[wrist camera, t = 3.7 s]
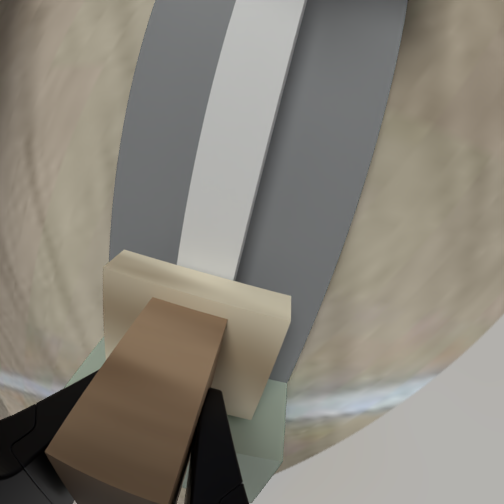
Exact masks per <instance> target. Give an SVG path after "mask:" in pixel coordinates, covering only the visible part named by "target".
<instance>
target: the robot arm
mask: <svg viewBox="0 0 504 504" xmlns="http://www.w3.org/2000/svg"><path fill="white" fill-rule="evenodd" d="M98 371H99V370H97V371H95V372H93V373H91V374H90V375H88V376H86V377H84V378H82V379H80V380H79V381H77V382H75V383H73V384H71V385H69V386H68V387H66V388H64V389H62V390H60V391H58V392H57V393H55V394H53V395H51V396H49V397H47V398H45V399H43V400H42V401H40V402H38V403H37V404H34V405H32V406H30V407H28V408H26V409H24V410H22V411H20V412H18V413H16V414H14V415H12V416H9V417H7V418H4V419H2V420H0V504H73V502H74V499H73V497H72V496H71V494H70V493H69V491H68V490H67V488H66V487H65V485H64V484H63V482H62V480H61V479H60V477H59V476H58V474H57V472H56V471H55V469H54V467H53V466H52V464H51V462H50V461H49V459H48V457H47V455H46V454H45V450H46V449H47V447H48V445H49V444H50V442H51V441H52V439H53V438H54V436H55V434H56V433H57V431H58V430H59V428H60V427H61V425H62V424H63V422H64V421H65V419H66V418H67V416H68V415H69V413H70V412H71V410H72V409H73V407H74V406H75V404H76V403H77V401H78V400H79V398H80V397H81V395H82V394H83V392H84V391H85V390H86V388H87V387H88V385H89V384H90V382H91V381H92V379H93V378H94V377H95V375H96V374H97V372H98ZM184 504H249V501H248V497H247V494H246V490H245V487H244V484H243V479H242V475H241V471H240V467H239V463H238V459H237V455H236V451H235V447H234V443H233V438H232V434H231V430H230V425H229V421H228V416H227V412H226V407H225V403H224V398H223V393H222V391H221V390H218V389H215V388H211V387H210V388H208V391H207V394H206V397H205V400H204V403H203V406H202V409H201V412H200V415H199V418H198V423H197V427H196V432H195V437H194V441H193V446H192V450H191V456H190V464H189V471H188V479H187V486H186V494H185V502H184Z"/></svg>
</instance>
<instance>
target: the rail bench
mask: <svg viewBox="0 0 504 504" xmlns="http://www.w3.org/2000/svg"><path fill="white" fill-rule="evenodd" d="M407 3H408V0H155V3H154V6H153V9H152V12H151V16H150V19H149V22H148V25H147V28H146V32H145V35H144V39H143V42H142V46H141V49H140V53H139V57H138V61H137V65H136V69H135V73H134V77H133V81H132V86H131V90H130V95H129V100H128V104H127V109H126V115H125V120H124V125H123V131H122V137H121V143H120V150H119V156H118V163H117V171H116V179H115V188H114V197H113V207H112V219H111V233H110V251H109V262H110V261H111V260H112V259H113V258H114V257H116V256H117V255H118V254H119V253H121V252H122V251H123V250H128V251H131V252H134V253H138V254H141V255H144V256H148V257H151V258H155V259H158V260H161V261H165V262H168V263H172V264H175V265H179V266H182V267H186V268H189V269H193V270H196V271H200V272H203V273H207V274H211V275H214V276H218V277H221V278H225V279H229V280H232V281H236V282H240V283H243V284H247V285H251V286H255V287H258V288H262V289H266V290H270V291H274V292H277V293H281V294H285V295H289V296H291V322H290V325H289V328H288V330H287V333H286V336H285V338H284V341H283V343H282V346H281V349H280V351H279V354H278V356H277V359H276V361H275V364H274V366H273V369H272V371H271V374H270V376H269V379H268V381H267V384H266V386H265V389H264V391H263V393H262V396H261V398H260V401H259V403H258V405H257V408H256V410H255V412H254V415H253V417H252V419H251V420H248V419H244V418H239V417H235V416H231V415H227V416H228V421H229V425H230V430H231V434H232V438H233V443H234V447H235V451H236V455H237V459H238V463H239V467H240V471H241V475H242V479H243V484H244V487H245V490H246V494H247V497H248V501H249V503H252V502H253V501H254V499H255V498H256V497H257V496H258V494H259V493H260V492H261V490H262V489H263V488H264V486H265V485H266V483H267V482H268V481H269V480H270V478H271V477H272V476H273V474H274V473H275V472H276V470H277V469H278V467H279V466H280V465H281V463H282V462H283V448H284V433H285V415H286V396H287V382H288V380H289V378H290V376H291V373H292V371H293V369H294V367H295V365H296V362H297V360H298V358H299V356H300V353H301V351H302V349H303V346H304V344H305V342H306V339H307V337H308V335H309V332H310V330H311V328H312V325H313V323H314V320H315V318H316V316H317V313H318V311H319V308H320V306H321V303H322V301H323V298H324V296H325V293H326V291H327V288H328V285H329V283H330V280H331V278H332V275H333V272H334V270H335V267H336V264H337V262H338V259H339V256H340V253H341V251H342V248H343V245H344V242H345V239H346V237H347V234H348V231H349V228H350V225H351V222H352V219H353V216H354V213H355V210H356V207H357V204H358V201H359V198H360V195H361V192H362V189H363V185H364V182H365V179H366V176H367V172H368V169H369V166H370V162H371V159H372V156H373V152H374V149H375V145H376V142H377V138H378V134H379V131H380V127H381V123H382V120H383V116H384V112H385V108H386V104H387V100H388V96H389V92H390V88H391V84H392V79H393V75H394V70H395V66H396V61H397V57H398V52H399V47H400V42H401V37H402V32H403V26H404V21H405V15H406V9H407ZM105 361H106V356H105V341H104V337H103V338H102V339H101V341H100V342H99V343H98V344H97V346H96V347H95V348H94V350H93V351H92V352H91V353H90V355H89V356H88V357H87V358H86V360H85V361H84V362H83V364H82V365H81V366H80V368H79V369H78V370H77V371H76V373H75V374H74V375H73V377H72V378H71V379H70V381H69V382H68V383H67V385H66V386H65V387H64V388H66V387H68V386H69V385H71V384H73V383H75V382H77V381H79V380H80V379H82V378H84V377H86V376H88V375H90V374H91V373H93V372H95V371H97V370H99V369H100V368H101V367H102V365H103V364H104V362H105ZM189 464H190V461H189ZM189 464H188V468H187V471H186V474H185V478H184V481H183V484H182V487H183V488H186V486H187V479H188V471H189Z"/></svg>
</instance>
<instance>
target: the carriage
mask: <svg viewBox="0 0 504 504" xmlns="http://www.w3.org/2000/svg"><path fill="white" fill-rule="evenodd" d="M103 318H104V341H105V356H106V361H105V362H104V364H103V365H102V367H101V368H100V369H99V371H98V372H97V374H96V375H95V377H94V378H93V379H92V381H91V382H90V384H89V385H88V387H87V388H86V390H85V391H84V392H83V394H82V395H81V397H80V398H79V400H78V401H77V403H76V404H75V406H74V407H73V409H72V410H71V412H70V413H69V415H68V416H67V418H66V419H65V421H64V422H63V424H62V425H61V427H60V428H59V430H58V431H57V433H56V434H55V436H54V438H53V439H52V441H51V442H50V444H49V445H48V447H47V449H46V450H45V454H46V455H47V457H48V459H49V461H50V462H51V464H52V466H53V467H54V469H55V471H56V472H57V474H58V476H59V477H60V479H61V480H62V482H63V484H64V485H65V487H66V488H67V490H68V491H69V493H70V494H71V496H72V497H73V499H74V500H75V501H76V503H77V504H177V501H178V497H179V494H180V491H181V488H182V484H183V481H184V478H185V474H186V471H187V468H188V464H189V461H190V456H191V450H192V446H193V441H194V437H195V432H196V427H197V423H198V418H199V415H200V412H201V409H202V406H203V403H204V400H205V397H206V394H207V391H208V388H210V387H211V388H215V389H218V390H221V391H222V393H223V398H224V403H225V407H226V412H227V415H231V416H235V417H239V418H244V419H248V420H251V419H252V417H253V415H254V412H255V410H256V408H257V405H258V403H259V401H260V398H261V396H262V393H263V391H264V389H265V386H266V384H267V381H268V379H269V376H270V374H271V371H272V369H273V366H274V364H275V361H276V359H277V356H278V354H279V351H280V349H281V346H282V343H283V341H284V338H285V336H286V333H287V330H288V328H289V325H290V322H291V296H289V295H285V294H281V293H277V292H274V291H270V290H266V289H262V288H258V287H255V286H251V285H247V284H243V283H240V282H236V281H232V280H229V279H225V278H221V277H218V276H214V275H211V274H207V273H203V272H200V271H196V270H193V269H189V268H186V267H182V266H179V265H175V264H172V263H168V262H165V261H161V260H158V259H155V258H151V257H148V256H144V255H141V254H138V253H134V252H131V251H128V250H123V251H122V252H121V253H119V254H118V255H117V256H116V257H114V258H113V259H112V260H111V261H110V262H108V263H107V264H106V265H105V266H104V267H103Z"/></svg>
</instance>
